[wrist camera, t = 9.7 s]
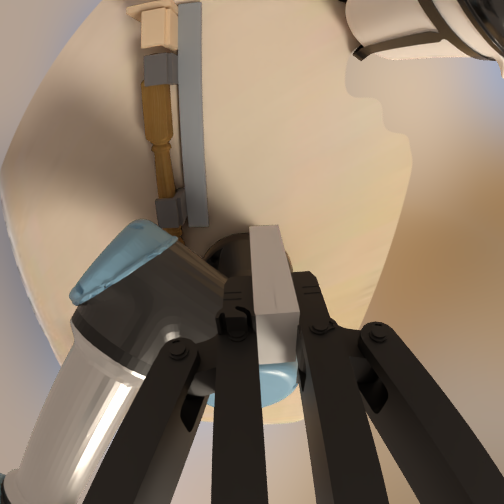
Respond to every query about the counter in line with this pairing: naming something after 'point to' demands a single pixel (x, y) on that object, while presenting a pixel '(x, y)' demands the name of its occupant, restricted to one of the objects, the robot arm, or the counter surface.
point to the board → (190, 98)
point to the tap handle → (160, 139)
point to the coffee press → (428, 28)
